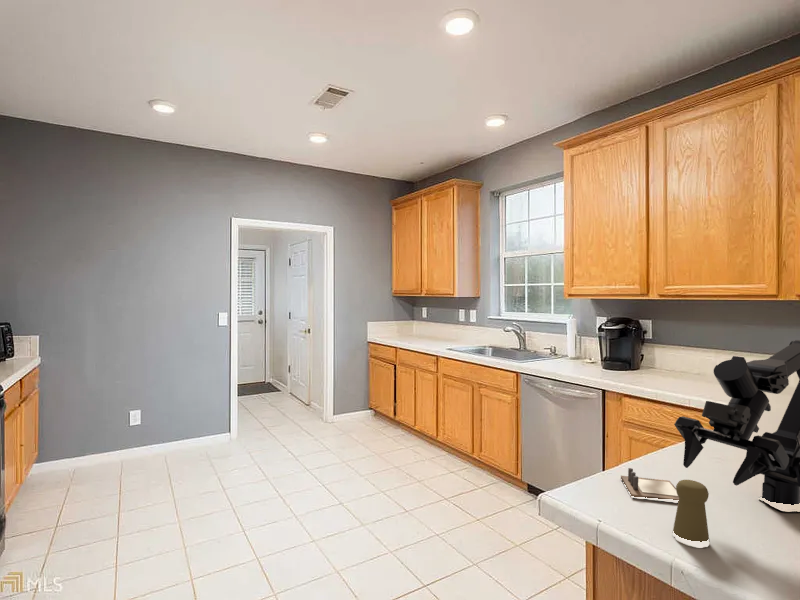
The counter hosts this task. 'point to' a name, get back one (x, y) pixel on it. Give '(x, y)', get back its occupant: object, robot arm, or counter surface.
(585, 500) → the counter surface
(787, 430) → the robot arm
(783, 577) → the counter surface
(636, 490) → the pin board
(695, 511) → the cork
